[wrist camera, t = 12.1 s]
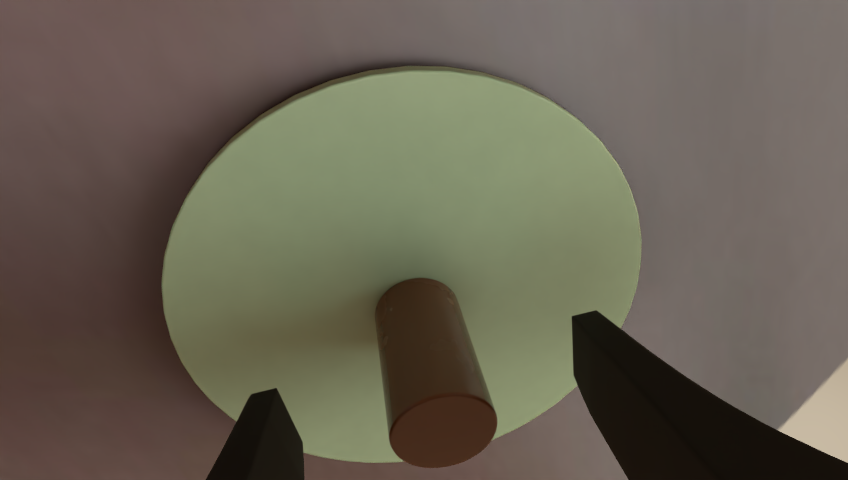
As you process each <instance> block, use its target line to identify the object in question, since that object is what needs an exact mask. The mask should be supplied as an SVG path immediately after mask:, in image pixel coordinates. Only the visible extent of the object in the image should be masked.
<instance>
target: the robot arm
mask: <svg viewBox="0 0 848 480" xmlns="http://www.w3.org/2000/svg"><path fill="white" fill-rule="evenodd" d="M572 344H573V375H574V378H575V380H576V382H577V385H578V387H579V389H580V392H581V394H582V396H583V399H584V401H585V403H586V405H587V408H588V410H589V412H590V414H591V416H592V418H593V419H594V421H595V423H596V425H597V426H598V428H599V430H600V432H601V433H602V435H603V437H604V438H605V440H606V442H607V444H608V445H609V447H610V449H611V450H612V452H613V454H614V456H615V457H616V459H617V461H618V462H619V464H620V466H621V467H622V469H623V471H624V473H625V474H626V476H627V478H628V479H629V480H848V463H846V462H844V461H842V460H840V459H837V458H835V457H833V456H830V455H828V454H826V453H824V452H821V451H819V450H817V449H815V448H813V447H811V446H809V445H807V444H805V443H803V442H800V441H798V440H796V439H794V438H792V437H790V436H788V435H786V434H783V433H782V432H780V431H778V430H776V429H774V428H772V427H770V426H768V425H766V424H764V423H762V422H760V421H758V420H757V419H755V418H753V417H751V416H749V415H748V414H746V413H744V412H742V411H740V410H739V409H737V408H735V407H733V406H732V405H730V404H728V403H727V402H725V401H723V400H722V399H720V398H718V397H717V396H715V395H713V394H712V393H710V392H709V391H707V390H706V389H704V388H702V387H701V386H699V385H698V384H696V383H695V382H693V381H692V380H690V379H689V378H687V377H686V376H684V375H683V374H681V373H680V372H678V371H677V370H675V369H674V368H673V367H671V366H670V365H668V364H667V363H666V362H664V361H663V360H661V359H660V358H658V357H657V356H656V355H654V354H653V353H652V352H650V351H649V350H648V349H646V348H645V347H643V346H642V345H641V344H640V343H638V342H637V341H636V340H634V339H633V338H632V337H630V336H629V335H628V334H627V333H625V332H624V331H623V330H621V329H620V328H619V327H618V326H616V325H615V324H614V323H613V322H611V321H610V320H609V319H607V318H606V317H605V316H604V315H602V314H601V313H600V312H598V311H597V310H595V311H591V312H587V313H582V314H578V315H574V316H572ZM206 480H304V458H303V442H302V439H301V437H300V435H299V433H298V431H297V429H296V427H295V425H294V423H293V421H292V419H291V417H290V415H289V412H288V410H287V408H286V406H285V404H284V402H283V400H282V398H281V396H280V394H279V392H278V390H277V388H274V389H270V390H266V391H262V392H258V393H253V394H251V395H250V397H249V398H248V400H247V402H246V404H245V406H244V408H243V410H242V412H241V414H240V416H239V418H238V420H237V422H236V424H235V426H234V428H233V430H232V432H231V434H230V436H229V438H228V440H227V441H226V443H225V445H224V447H223V449H222V451H221V453H220V455H219V457H218V458H217V460H216V462H215V464H214V466H213V468H212V469H211V471H210V473H209V475H208V477H207V479H206Z"/></svg>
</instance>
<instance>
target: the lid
mask: <svg viewBox="0 0 848 480" xmlns="http://www.w3.org/2000/svg"><path fill="white" fill-rule="evenodd" d="M640 265H641V232H640V224H639V217H638V211H637V208H636V205H635V202H634V199H633V195H632V192H631V189H630V186H629V185H628V183H627V181H626V179H625V177H624V175H623V173H622V171H621V169H620V167H619V165H618V163H617V162H616V160H615V159H614V158H613V156H612V155H611V154H610V152H609V151H608V150H607V148H606V147H605V146H604V144H603V143H602V142H601V140H600V139H598V138H597V137H596V136H595V135H594V134H593V133H592V132H591V131H590V130H589V129H588V128H587V127H586V126H585V125H584V124H583V123H582V122H581V121H580V120H579V119H577V118H576V117H575V116H573V115H572V114H571V113H569V112H568V111H566V110H565V109H563V108H562V107H560V106H559V105H558V104H556V103H555V102H553V101H552V100H550V99H549V98H547V97H546V96H543V95H541V94H539V93H537V92H535V91H533V90H531V89H529V88H527V87H525V86H523V85H520V84H518V83H516V82H513V81H510V80H506V79H503V78H500V77H497V76H493V75H490V74H487V73H484V72H478V71H472V70H465V69H459V68H453V67H446V66H402V67H394V68H385V69H377V70H369V71H365V72H361V73H357V74H353V75H349V76H346V77H342V78H338V79H334V80H330V81H328V82H325V83H323V84H321V85H318V86H316V87H313V88H311V89H308V90H306V91H303V92H301V93H298V94H296V95H294V96H292V97H290V98H289V99H287V100H285V101H284V102H282V103H280V104H278V105H277V106H275V107H273V108H271V109H270V110H268V111H266V112H265V113H263V114H261V115H260V116H259V117H257V118H256V119H255V120H254V121H252V122H251V123H250V124H249V125H247V126H246V127H245V128H243V129H242V130H241V131H240V132H238V133H237V134H236V135H235V136H233V137H232V138H231V139H230V140H229V141H228V142H227V143H226V145H225V146H224V147H223V148H222V149H221V150H220V151H219V152H218V153H217V154H216V155H215V156H214V157H213V158H212V159H211V160H210V162H209V163H208V164H207V165H206V167H205V168H204V170H203V171H202V173H201V174H200V176H199V177H198V179H197V180H196V182H195V183H194V184H193V186H192V187H191V189H190V190H189V192H188V194H187V196H186V198H185V200H184V202H183V204H182V206H181V209H180V211H179V213H178V215H177V217H176V219H175V221H174V224H173V226H172V229H171V232H170V236H169V240H168V243H167V247H166V251H165V254H164V262H163V272H162V283H161V286H162V298H163V310H164V315H165V319H166V323H167V326H168V330H169V334H170V338H171V340H172V342H173V345H174V347H175V349H176V351H177V354H178V356H179V358H180V360H181V362H182V364H183V365H184V367H185V368H186V370H187V371H188V373H189V374H190V376H191V377H192V379H193V380H194V382H195V383H196V384H197V386H198V387H199V388H200V389H201V390H202V391H203V392H204V393H205V394H206V396H207V397H208V398H209V399H210V400H211V401H212V402H213V403H214V404H215V405H216V406H218V407H219V408H220V409H221V410H222V411H224V412H225V413H226V414H227V415H228V416H229V417H231V418H232V419H234V420H235V421H237V420H238V418H239V416H240V414H241V412H242V410H243V408H244V406H245V404H246V402H247V400H248V398H249V397H250V395H251V394H253V393H258V392H262V391H266V390H270V389H274V388H277V390H278V392H279V394H280V396H281V398H282V400H283V402H284V404H285V406H286V408H287V410H288V412H289V415H290V417H291V419H292V421H293V423H294V425H295V427H296V429H297V431H298V433H299V435H300V437H301V439H302V442H303V453H307V454H311V455H315V456H319V457H324V458H330V459H336V460H343V461H352V462H367V463H384V462H403V461H405V462H407V463H409V464H412V465H415V466H418V467H425V468H440V467H447V466H452V465H455V464H459V463H461V462H464V461H466V460H468V459H470V458H472V457H474V456H475V455H477V454H478V453H480V452H481V451H482V450H483V449H484V448H486V446H487V445H488V444H489V443H490V442H491V440H493V439H496V438H498V437H500V436H502V435H504V434H506V433H509V432H511V431H513V430H515V429H517V428H519V427H520V426H522V425H524V424H526V423H527V422H529V421H531V420H533V419H534V418H536V417H537V416H539V415H540V414H542V413H543V412H545V411H546V410H548V409H549V408H550V407H552V406H553V405H555V404H556V403H557V402H559V401H560V400H561V399H562V398H563V397H564V396H566V395H567V394H568V393H569V392H570V391H572V390H573V389H574V388H575V387H576V386H577V382H576V380H575V378H574V375H573V344H572V316H574V315H578V314H582V313H587V312H591V311H595V310H597V311H598V312H600V313H601V314H602V315H604V316H605V317H606V318H607V319H609V320H610V321H611V322H613V323H614V324H615V325H616V326H618V327H619V328H620V329H621V327H622V325H623V322H624V320H625V318H626V316H627V314H628V312H629V310H630V307H631V303H632V300H633V297H634V294H635V291H636V288H637V283H638V277H639V271H640Z"/></svg>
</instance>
